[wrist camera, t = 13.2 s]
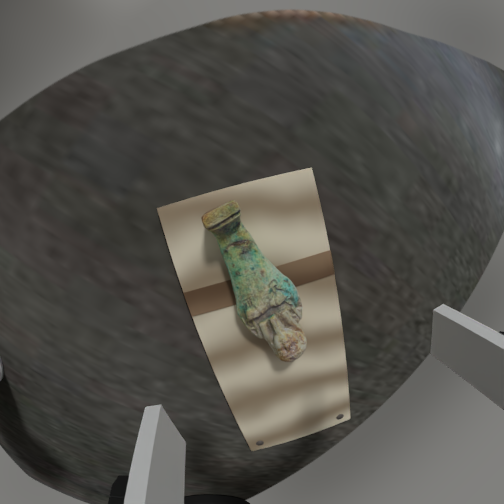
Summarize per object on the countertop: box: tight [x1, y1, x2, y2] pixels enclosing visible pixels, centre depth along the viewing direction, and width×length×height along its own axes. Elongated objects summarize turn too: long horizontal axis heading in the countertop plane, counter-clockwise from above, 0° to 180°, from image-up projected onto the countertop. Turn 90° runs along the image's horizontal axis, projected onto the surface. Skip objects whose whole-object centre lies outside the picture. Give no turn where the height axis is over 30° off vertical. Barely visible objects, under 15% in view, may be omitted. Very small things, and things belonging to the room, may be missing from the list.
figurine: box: [201, 200, 307, 362], centre depth 23 cm, size 6×15×4 cm, turn 19°
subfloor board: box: [157, 168, 350, 451], centre depth 27 cm, size 32×14×1 cm, turn 15°
